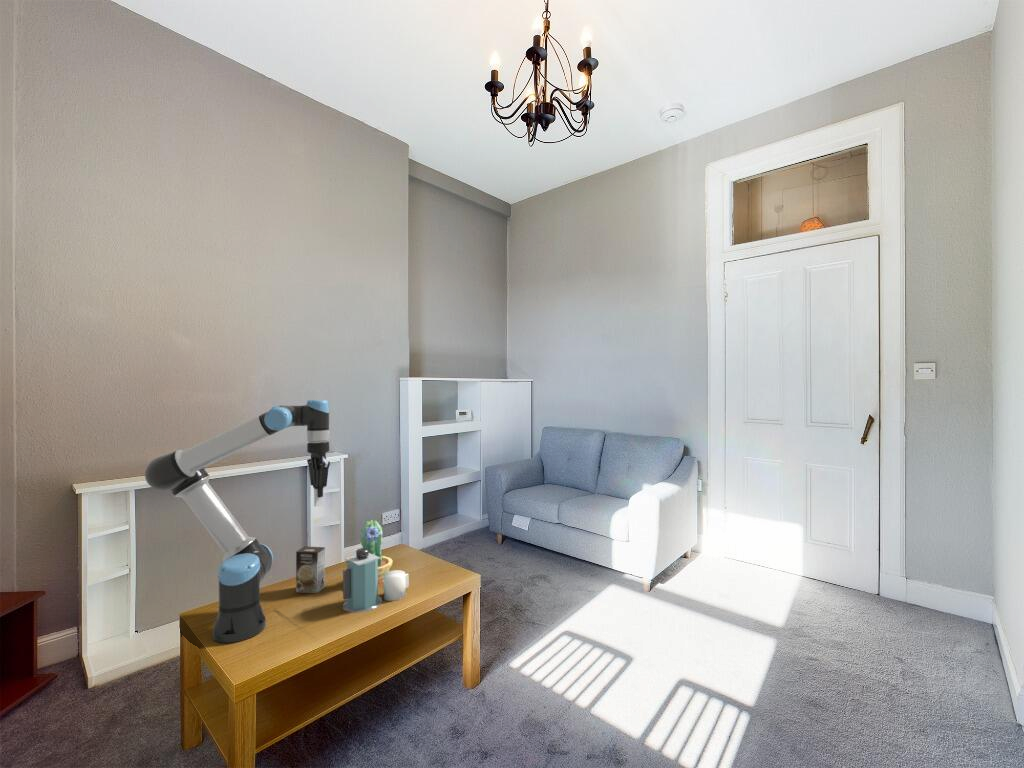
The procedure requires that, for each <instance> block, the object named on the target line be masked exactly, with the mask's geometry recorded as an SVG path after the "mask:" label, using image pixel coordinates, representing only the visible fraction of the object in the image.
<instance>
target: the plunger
mask: <svg viewBox="0 0 1024 768" xmlns="http://www.w3.org/2000/svg"><path fill="white" fill-rule="evenodd" d="M355 555H356V557H358V558H361V560H363V559H364V557H367V556H369V549H368V548H363V547H361V548H358V549H356V550H355Z"/></svg>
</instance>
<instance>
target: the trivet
mask: <svg viewBox="0 0 1024 768" xmlns="http://www.w3.org/2000/svg"><path fill="white" fill-rule="evenodd" d="M383 600H384V599H383V598H382V597H381V596H380V595H378V601H377V603H376V605H375V606H372V607H370V608H367V609H362V610H353V609H351V608H349V607H348V606H347V600H346V601H344V602H343V604H342V609H343V610H344V611H346V612H350V613H365V612H368V611H369V612H370V611H373V610H375V609H376V608H379V607H380V606H381V605H382V604H383Z"/></svg>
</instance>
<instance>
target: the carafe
mask: <svg viewBox="0 0 1024 768" xmlns="http://www.w3.org/2000/svg"><path fill="white" fill-rule="evenodd" d="M378 559H380V557H378V556H375V555H373V554H370V553H369V556H367V557H364V559H363V560H361V558H358V557H356V554H355V555H351V556H349V557H346V558H345V559H344V560H345V561H347V562H346V569H343V570H342V589H343V590H342V599H343V600H346V601H347V606H348V607H349V608H351V609H353V610H362V609H367V608H370V607H372V606H375V605H376V603H377V601H378V596H379V583H378Z"/></svg>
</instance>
